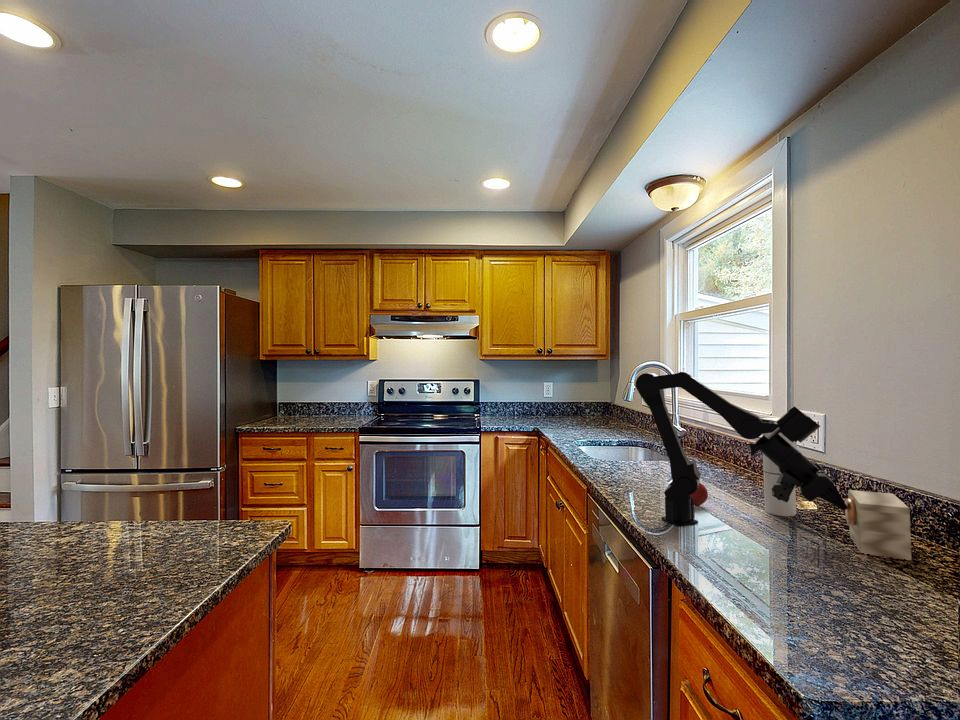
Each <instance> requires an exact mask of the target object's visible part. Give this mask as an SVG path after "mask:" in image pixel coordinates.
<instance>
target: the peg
mask: <svg viewBox="0 0 960 720" xmlns="http://www.w3.org/2000/svg"><path fill="white" fill-rule="evenodd" d="M844 502H845V504H846V505H847V509H846V510H844V513H845V515H844V516H845V521H846V524H847V525H848V526H849V525H856V522H857V513H856V505H855V501H854V499H849V498H845V499H844Z"/></svg>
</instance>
